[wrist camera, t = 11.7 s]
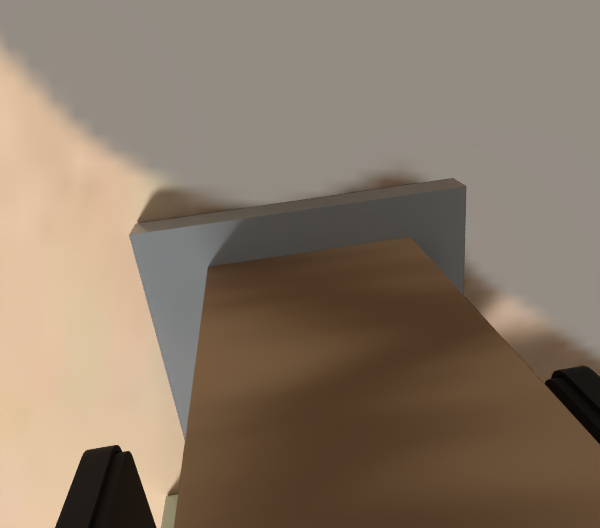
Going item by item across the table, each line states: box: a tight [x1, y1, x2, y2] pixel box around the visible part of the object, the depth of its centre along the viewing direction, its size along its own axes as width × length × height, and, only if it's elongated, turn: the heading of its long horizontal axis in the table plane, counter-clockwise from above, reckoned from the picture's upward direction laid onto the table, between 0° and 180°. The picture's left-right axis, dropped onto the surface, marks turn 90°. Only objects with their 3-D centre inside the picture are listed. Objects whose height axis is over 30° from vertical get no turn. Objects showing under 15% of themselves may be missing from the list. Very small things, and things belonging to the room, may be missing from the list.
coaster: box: [129, 178, 466, 439], centre depth 14 cm, size 8×8×1 cm
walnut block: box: [174, 237, 600, 528], centre depth 9 cm, size 5×6×9 cm
